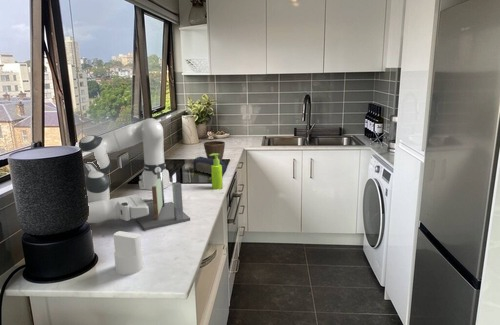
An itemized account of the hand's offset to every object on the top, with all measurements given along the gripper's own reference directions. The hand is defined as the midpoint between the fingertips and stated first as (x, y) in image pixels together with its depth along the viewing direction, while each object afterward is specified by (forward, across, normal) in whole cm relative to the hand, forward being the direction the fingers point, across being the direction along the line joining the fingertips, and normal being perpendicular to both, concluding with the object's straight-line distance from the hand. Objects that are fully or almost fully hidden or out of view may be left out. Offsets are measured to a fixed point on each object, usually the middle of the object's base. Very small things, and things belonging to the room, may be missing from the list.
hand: (154, 201), depth 161 cm
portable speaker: (+52, -59, -8) cm, 78 cm away
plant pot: (+64, -78, -8) cm, 101 cm away
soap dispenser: (+42, -26, -8) cm, 50 cm away
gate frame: (+2, -2, -8) cm, 8 cm away
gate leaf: (+2, -2, -6) cm, 7 cm away
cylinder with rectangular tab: (-19, +39, -8) cm, 44 cm away
